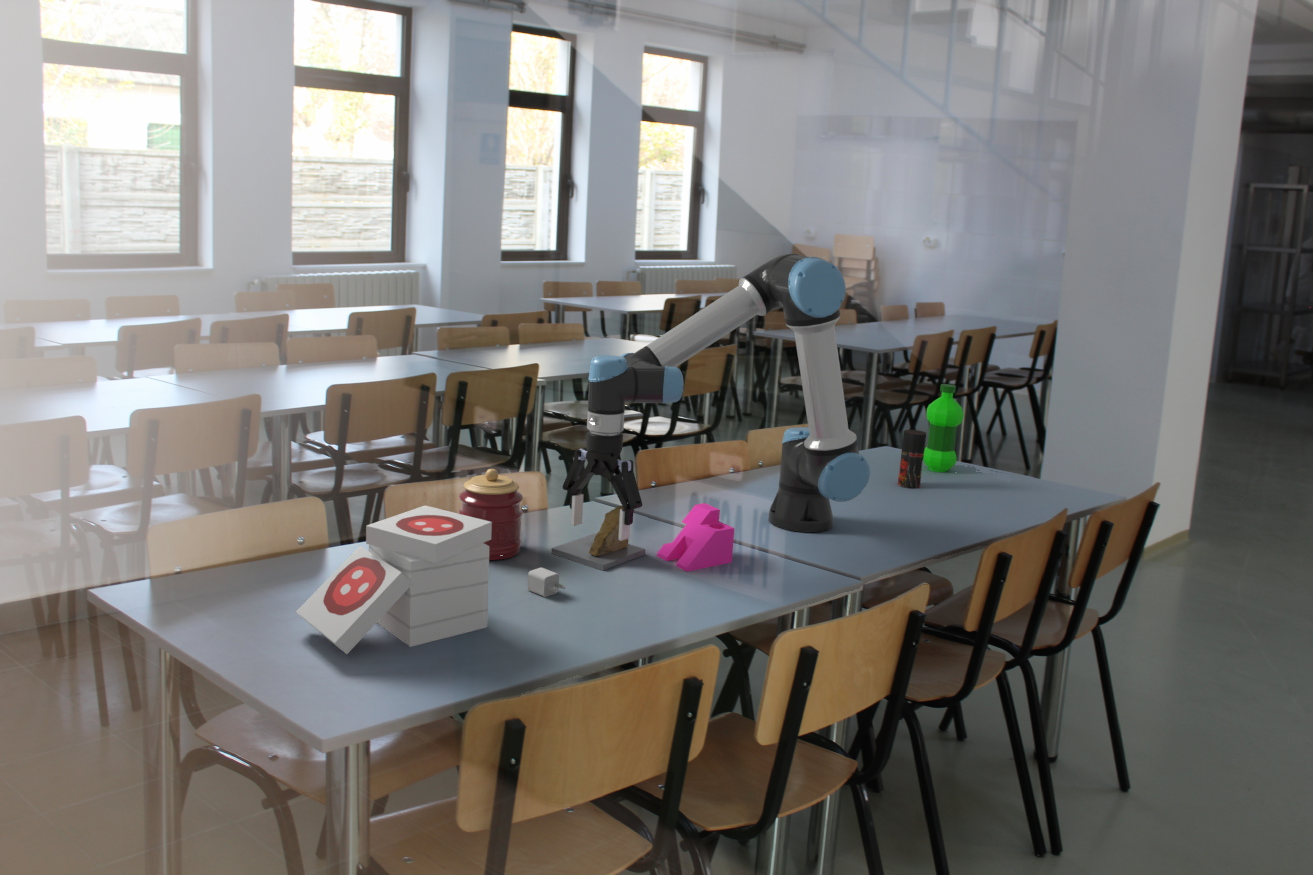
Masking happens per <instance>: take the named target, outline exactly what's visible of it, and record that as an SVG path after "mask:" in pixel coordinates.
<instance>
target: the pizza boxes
mask: <svg viewBox="0 0 1313 875" xmlns="http://www.w3.org/2000/svg"><path fill="white" fill-rule="evenodd" d="M491 529H492V522H490V521H486V520H482V519H478V518H474V517H470V516H466V515H462V514H459V512H457V513H456V512H452V511H451V510H450V511H449V510H444V509H441V508H438V507H434V506H429V505H422V506H419V507H416V508H413V509H411V510H408V511H405V512H402V513H399V514H396V515H393V516H390V517H387V518H384V519H382V520H379V521H376V522H373V523H370V524H367V525H366V527H365V530H366V531H365V544H366V545H368V550H367V549H366V548H364V547H363V546H361V545H359V546H358V547H357V549H355V550H354V551H353V552H352V553H351V554H350V555H349V557H348V558H347V559H345V561H344V562H343V563H342V564H340V565H339V567H338V568H336V570H335V571H334V572H333V573H332V574H331V575H330V576H329V577H328V578H327V579H326V580H325V581H324V582H323V583H322V584H321V585H320V586H319V587H318V589H316V590H315V591H314V592H313V594H311V596H309V597H308V599H307V600H306V601H304V603H302V605H301V606H299V608H298V609H296V611H295V612H296V613H297V614H298V615H299V616H300V617H301V618H302V619H303V620H304V621H306V622H307V623H308V625H310V626H311V627H313V628H314V629H315V630H316V631H317V632H319V633H320V634H321V635H322V636H324V637H325V638H326V639H327V640H329V642H331V643H332V644H334V646H336V647H337V648H338V649H340V650H341V651H342V652H343V653H345V654H346V655H348V654H349V653H350V652H351V651H352V649H354V648H355V646H357V644H358V643H359V642H361V640H362V639H363V638H364V637H365V636H366V634H368V632H369V631H370V630H371V629H372V628H374V626H375V625H376V624H378V625H379V626H380V627H382V628H383V629H384V630H386V631H387V632H389V633H391V634H392V635H393V636H395V638H397V639H398V640H400V641H401V642H403V643H404V644H405V645H406V646H408V647H409V648H411V647H415V646H419V645H422V644H423V645H424V644H426V643H430V642H434V641H438V640H442V639H446V638H447V639H448V638H450V637H451V638H452V637H455V636H459V635H462V634H466V633H469V632H473V631H475V632H476V631H479V630H481V629H487V628H488V616H489V614H488V613H489V609H488V608H489V576H490V575H489V574H490V572H489V571H490V570H489V568H490V560H489V546H488V545H486V544H484V542H486V541H489V540H491Z"/></svg>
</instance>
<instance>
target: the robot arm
mask: <svg viewBox="0 0 1313 875" xmlns="http://www.w3.org/2000/svg"><path fill="white" fill-rule="evenodd" d="M846 290H847V288H846V282H845V278H844V276H843V274H842V272H841V270H839V269H838V267H837V266H836V265H835V264H833V263H832V262H829V261H827V260H825V259H823V258H821V257H817V256H805V255H801V254H797V253H785V254H781V255H779V256H776V257H774V258H772V259H770V260H768V261H766V262H765V263H763V264H762V265H759V267H757V268H755V269H753V270H752V271H751V272H749V273H748V274H746V275H744V276H743V277H741V278H740V279H739V281H738V286H736V287H734V288H733V289H732V290H730V291H728V292H727V293H725V294H724V295H723V296H720V297H719V298H718V299H716V300H714V301H713V302H711V303H710V304H708V305H707V306H705V307H703V308H702V309H701V310H699V311H697V312H696V313H695V314H693V315H691V316H690V317H688V318H687V319H685V320H684V321H682V322H681V323H679V324H677V325H676V326H674V327H673V328H672V329H670V330H668V331H667V332H665V333H664V334H662V335H661V336H659V337H657V338H656V339H655V340H653V341H651V342H649V344H647V345H645V346H644V347H642V348H640V349H638V350H637V351H635V352H627V353H623V354H621V355H610V354H602V355H596V356H593V357H592V358H591V361H590V366H589V373H588V395H587V396H588V399H587V400H588V402H587V404H588V405H587V418H586V420H587V421H586V429H587V430H588V431H587V432H586V438H585V439H586V440H585V447H583V448H579V449H575V450H574V455H573V460H572V463H571V466H570V468H569V470H568V472H567V475H566V477H565V479H564V482H563V484H562V490H564V491H567V492H568V494H569V509H570V510H571V515H570V516H571V517H570V526H571V527H576V526H578V525H581V524H583V515H584V514H583V512H584V511H583V510H584V508H583V506H584V494H583V493H582V492H583V489H584V488H585V486H586V485H587V484H588V483H589V482H590V480H592V477H593V476H601V477H602V478H606V479H607V481H608V482H609V483H611V485H612V488H613V489H614V492H615V494H616V496H617V498H618V500H619V502H620V504H621V506H623V509H620V519H619V537H618V540H620V541H622V540H625V539H628V540H629V539H630V532H631V525H632V524H633V523H634V512H635V510H636V509H641V508H642V507H643V500H642V497H641V495H640V494H641V493H640V491H639V487H638V483H637V479H636V476H635V472H634V461H633V460H632V459H629V460H623V459H622V457H621V453H622V451H623V445H624V444H623V443H624V442H623V441H624V434H623V431H624V430H625V429H624V427H625V409H626V408H625V406H626V404H662V405H663V404H664V405H665V404H669V403H677V402H678V401H680V400H681V398H682V396H683V393H684V377H683V372H682V371H681V369H680V368H679V367H678V366H680V365H682V364H683V363H685V362H687V361H688V360H689V359H690V358H692V357H694V356H695V355H698V354H699V353H700V352H702V351H703V350H705V349H706V348H708V347H709V346H711V345H713V344H714V343H716V342H717V341H718V340H721V339H722V338H723V337H725V336H727V335H728V334H730V333H731V332H732V331H734V330H736V329H737V328H739V327H740V326H741V325H743V324H745V323H747V322H748V321H750V320H751V319H752V318H755V317H756V316H760V317H764V316H766V315H767V314H769V313H770V312H772V311H774V310H777V309H781V308H783V313H784V321H785V326H786V327H788V328H789V329H791V330H792V331H793V332H794V339H795V346H796V353H797V358H798V366H799V371H800V379H801V385H802V392H803V399H804V407H805V412H806V420H807V427H805V426H801V427H800V426H799V427H790V428H787V429H785V431H784V433H783V437H782V441H781V458H780V466H779V467H780V469H779V470H780V471H779V481H778V490H777V492H776V494H775V496H774V498H773V501H772V504H771V505H770V508H769V512H768V522H769V523H770V524H772V525H774V526H775V527H778V528H780V529H784V530H787V531H794V532H802V533H819V532H825V531H828V530H830V529H831V528H832V527H833V522H834V515H833V510H832V505H831V501H833V502H837V503H838V502H839V503H842V502H843V503H844V502H848V501H851V500H853V499H855V498H857V497H858V496H859V495H861V493H863V490H864V489H865V488H866V487H867V485H868V483H869V480H870V477H871V476H870V475H871V469H870V468H871V467H870V465H869V463H868V461H867V459H866V458H865V457H864V455H862V454H860V451H859V445H858V438H857V435H856V433H855V432H853V431H852V430H850V429H849V424H848V416H847V409H846V403H845V402H846V400H845V394H844V386H843V379H842V372H841V364H840V359H839V358H840V357H839V351H838V343H837V336H836V329H835V328H836V327H835V326H836V324H837V322H838V321H839V320H840V318H841V311H840V309H841V306H842V303H843V302H844V301H845V298H846V294H847V293H846ZM586 461H587V463H588V464H587V465H586V466H585V468H584V469H583V467H584V465H585V463H586ZM581 472H582V473H581ZM830 500H831V501H830Z"/></svg>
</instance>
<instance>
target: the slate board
mask: <svg viewBox="0 0 1313 875" xmlns="http://www.w3.org/2000/svg"><path fill="white" fill-rule="evenodd" d="M596 534H597V533H592V534H589V535H585V536H583V537H581V538H580V537H579V538H577V539H574V540H571V541H568V542H565V543H562V544H559V545H557V546H554V547H551V550H550V551H551V552H550V554H553V555H555V556H558V557H561V558H563V559H567V560H569V561H572V562H576V563H578V564H582V565H585V566H588V567H591V568H594V569H597V570H599V571H605V570H608V569H611V568H613V567H616V566H619V565H621V564H624V563H626V562H629V561H632V560H634V559H637V558H640V557H643V556H644V555H646V548H643V547H639V546H637V545H634V544H631V543H628V547H626V548H624V549H621V550H618V551H615V552H611V553H608V554H604V555H600V556H594V555H592V554H590V553H589V551H590V548H591V546H592V544H593V542H594V538H595V536H596Z"/></svg>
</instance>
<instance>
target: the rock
mask: <svg viewBox="0 0 1313 875" xmlns="http://www.w3.org/2000/svg"><path fill="white" fill-rule="evenodd" d="M620 509H623V506H622V505H619V506H617V507H615V508H614V509H611V510H610V511H608V512H606V513H605V515H604V520H603V522H602V523H601V526H600V528H599V529H600V530H598V531H597V533H595V534H596V536H595V538H594V542H593V544H592V546H591V548H590V551H589V553H590V554H592V555H594V556H600V555H604V554H608V553H611V552H615V551H618V550H621V549H624V548H626V547H628V544H629V538H628V539H625V540H622V541H620V540H618V537H619V519H620Z"/></svg>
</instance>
